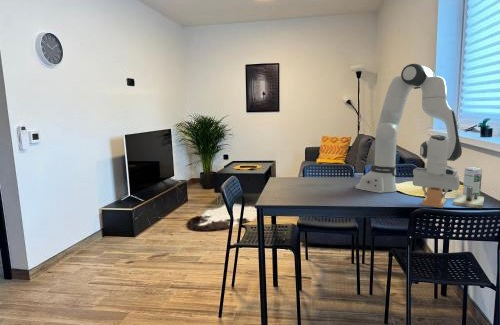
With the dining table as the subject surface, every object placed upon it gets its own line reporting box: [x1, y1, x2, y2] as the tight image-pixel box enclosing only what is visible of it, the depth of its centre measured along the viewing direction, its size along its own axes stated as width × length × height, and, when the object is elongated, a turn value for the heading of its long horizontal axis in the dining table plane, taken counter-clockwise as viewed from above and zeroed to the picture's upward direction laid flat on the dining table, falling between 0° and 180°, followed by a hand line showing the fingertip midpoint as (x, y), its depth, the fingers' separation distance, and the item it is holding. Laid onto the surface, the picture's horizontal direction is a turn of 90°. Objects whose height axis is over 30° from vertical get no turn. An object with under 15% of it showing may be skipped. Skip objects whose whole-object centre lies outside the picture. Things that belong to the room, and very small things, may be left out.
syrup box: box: [462, 167, 483, 196], centre depth 184 cm, size 6×6×14 cm
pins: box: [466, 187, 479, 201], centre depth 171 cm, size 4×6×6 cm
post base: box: [452, 193, 485, 209], centre depth 172 cm, size 12×18×2 cm, turn 144°
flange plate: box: [421, 187, 447, 209], centre depth 171 cm, size 14×9×7 cm, turn 144°
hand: (434, 196), depth 171 cm, fingers closed on flange plate, 6 cm apart
